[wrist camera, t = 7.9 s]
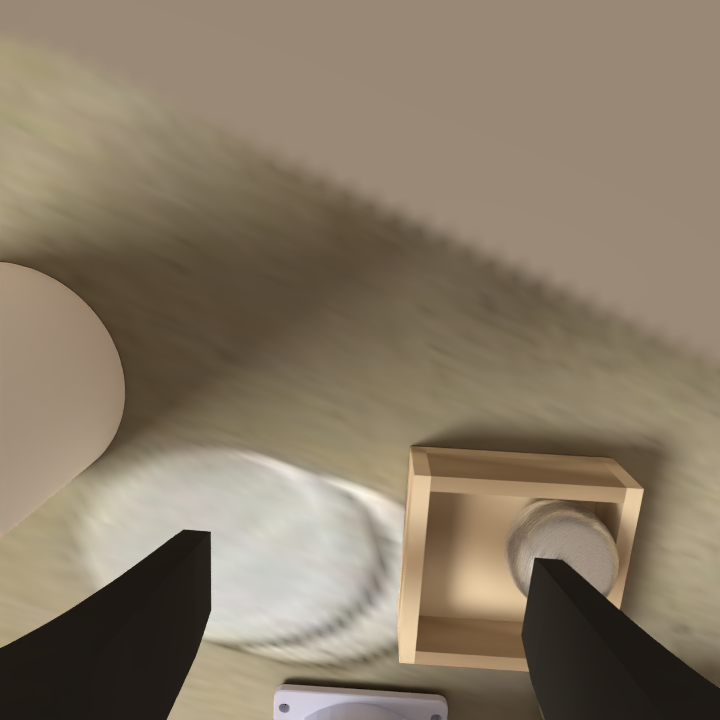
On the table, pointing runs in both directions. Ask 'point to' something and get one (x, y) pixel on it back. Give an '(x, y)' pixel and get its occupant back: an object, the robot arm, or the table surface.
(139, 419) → the table surface
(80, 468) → the paper towel roll
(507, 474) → the tray
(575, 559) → the ball
